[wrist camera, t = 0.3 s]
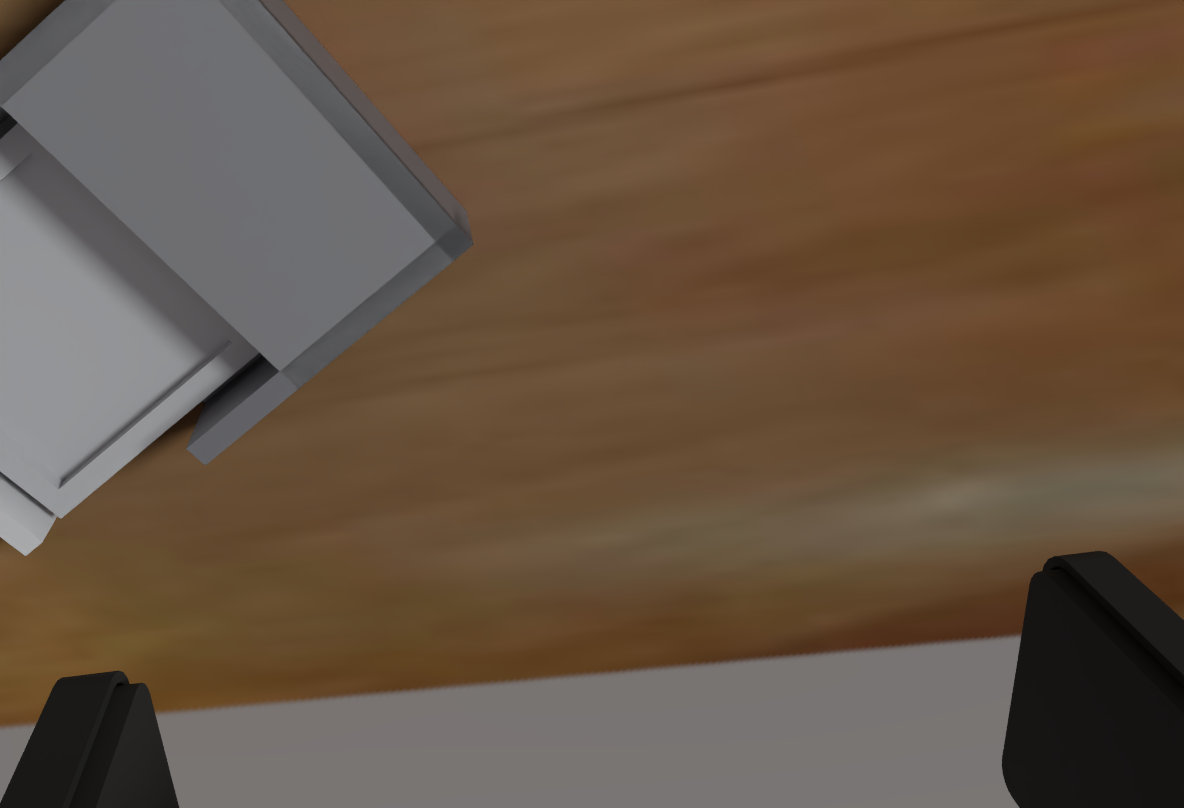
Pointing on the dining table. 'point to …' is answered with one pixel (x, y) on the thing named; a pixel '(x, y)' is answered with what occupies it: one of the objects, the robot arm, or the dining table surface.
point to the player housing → (239, 176)
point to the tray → (87, 342)
